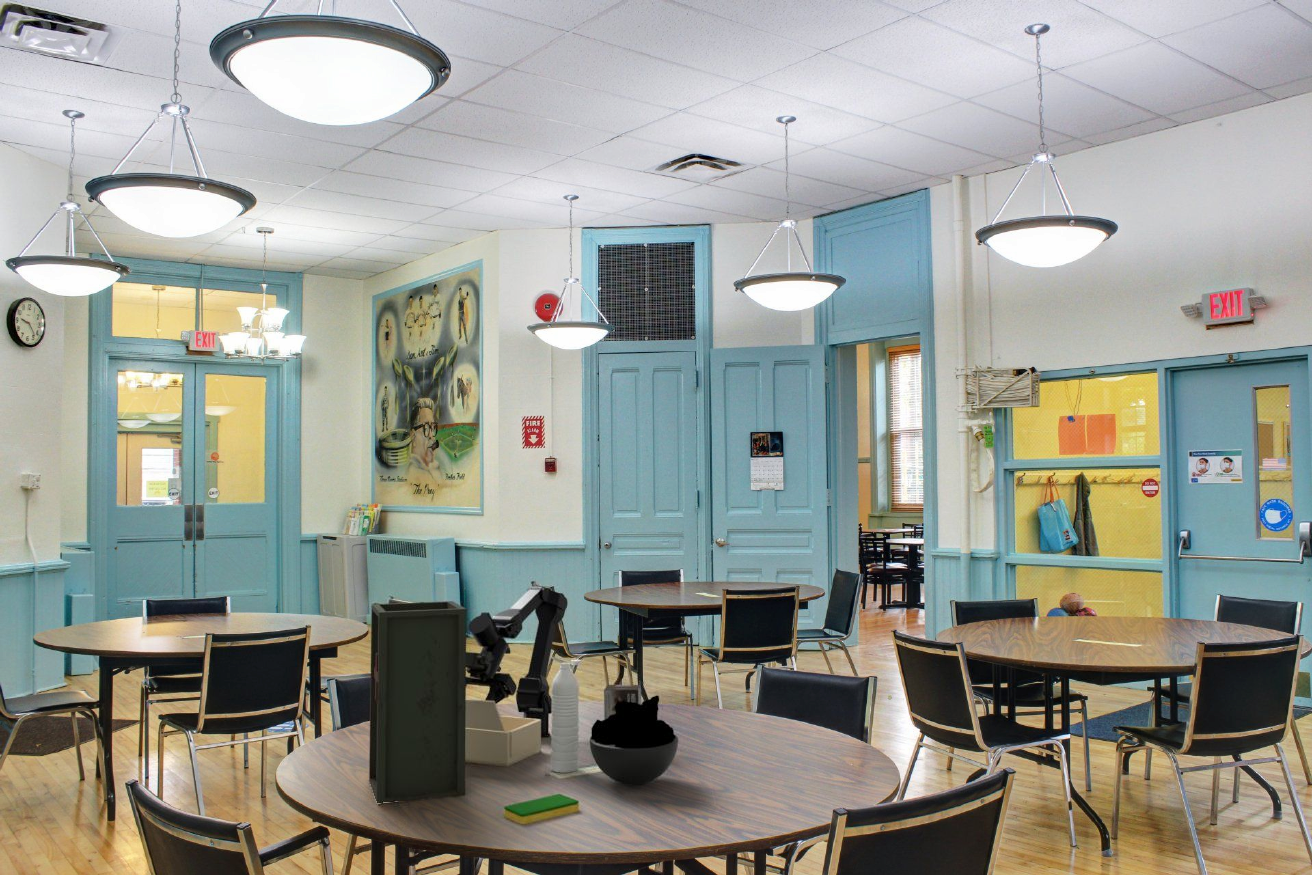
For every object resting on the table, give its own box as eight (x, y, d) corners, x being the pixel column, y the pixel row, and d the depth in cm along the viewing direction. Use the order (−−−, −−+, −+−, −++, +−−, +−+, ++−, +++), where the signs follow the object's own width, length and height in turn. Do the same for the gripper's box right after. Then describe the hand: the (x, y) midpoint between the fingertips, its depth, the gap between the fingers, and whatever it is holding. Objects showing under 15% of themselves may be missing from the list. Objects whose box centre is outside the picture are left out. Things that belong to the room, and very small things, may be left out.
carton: (473, 743, 266) (473, 712, 267) (543, 750, 258) (543, 719, 258) (436, 758, 251) (436, 725, 251) (509, 766, 243) (509, 732, 243)
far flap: (428, 695, 247) (427, 696, 247) (494, 700, 240) (493, 702, 239) (439, 723, 251) (438, 724, 250) (505, 729, 243) (504, 731, 243)
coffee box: (642, 747, 261) (642, 684, 262) (639, 754, 255) (639, 688, 255) (607, 747, 262) (607, 683, 263) (603, 753, 255) (603, 688, 256)
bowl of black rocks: (600, 799, 216) (599, 709, 217) (581, 775, 235) (581, 692, 236) (689, 792, 221) (689, 704, 223) (664, 768, 241) (664, 688, 242)
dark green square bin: (369, 781, 230) (371, 604, 233) (450, 773, 237) (452, 601, 239) (376, 804, 213) (379, 612, 216) (464, 795, 220) (466, 608, 222)
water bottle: (567, 774, 236) (567, 665, 237) (545, 770, 239) (545, 663, 241) (589, 766, 243) (589, 660, 245) (568, 762, 247) (568, 658, 248)
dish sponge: (579, 812, 209) (579, 800, 209) (522, 826, 200) (522, 814, 200) (559, 804, 214) (559, 792, 214) (503, 818, 205) (503, 805, 205)
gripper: (445, 636, 254) (419, 689, 244) (510, 640, 247) (485, 695, 236) (463, 663, 261) (438, 715, 250) (527, 667, 254) (503, 721, 243)
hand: (465, 711), depth 245 cm, fingers open, 9 cm apart
